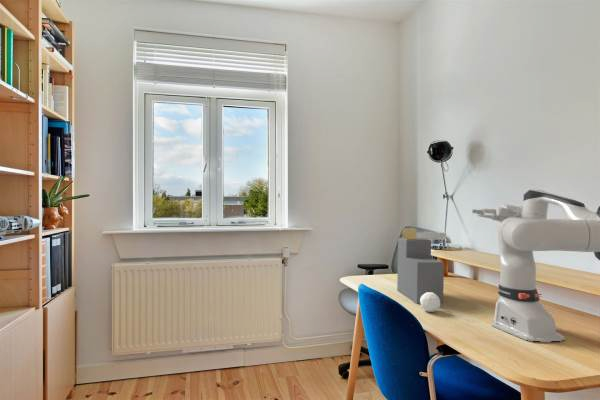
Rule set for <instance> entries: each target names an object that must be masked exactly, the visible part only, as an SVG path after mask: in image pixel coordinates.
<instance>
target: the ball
mask: <svg viewBox="0 0 600 400" xmlns="http://www.w3.org/2000/svg"><path fill="white" fill-rule="evenodd" d="M419 305H420V307H421V308H422V309H423V310H424V311H426V312H428V313H434V312H436V311H438V310H439V309H440V307H441V304H440V300H439V297H438V296H437V295H436V294H434V293H433V292H426V293H425V294H423V295H422V296H421V298H420V304H419Z"/></svg>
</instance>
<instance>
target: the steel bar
mask: <svg viewBox="0 0 600 400" xmlns="http://www.w3.org/2000/svg"><path fill="white" fill-rule="evenodd" d="M401 228H402V230H401V232H402V235H401V238H402V239H406V240H431V241H432V240H433V241H434V240H435V241H436V240H438V241H439V240H440V241H441V240H443V241H445V240H446V235H447V234H446V233H445V232H418V230H417V228H413V227H411V228H410V227H408V228H407V227H404V228H403V227H401Z"/></svg>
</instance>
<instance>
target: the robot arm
mask: <svg viewBox="0 0 600 400" xmlns="http://www.w3.org/2000/svg"><path fill="white" fill-rule="evenodd" d="M550 204H552V205H555V206H558V207H560V208H561V209H562V211H563V213H564V217H565V218H564V219H563V218H562V219H561V218H547V217H548V210H549V209H548V208H549V205H550ZM471 213H472V214H475V215H476V217H480V218H484V219H485V218H486V219H491V220H492V221H497V222H499V225H498V227H497V239H498V241H497V243H498V252H499V253H498V254H499V262H500V263H499V265H500V266H499V271H500V273H499V274H500V275H499V284H498V287H497V290H498V292H497V294H498V295H499V297H498V299H497V301H496V304H495V310H494V318H493V321H492V322H491V326H492V327H494V328H496V329H498V330H501V331H503V332H505V333H508V334H510V335H513V336H515V337H517V338H520V339H521V340H522V339H523V340H524V341H527V340H528V342H533V341H540V342H539V343H552V342H551V341H560V342H562V341H561V340H564V339H565V340H566V337H565V336H564V335H562V334H561V333H560V332H557V326H556V321H555V319H554V317H553V315H552V314H551V313H549V312H548V310H547V309H546V308H545V307H544V305H543V304H542V303H541V302H540V298H542V293H539V292H538V289H537V287H536V286H537V284H536V283H537V277H536V276H537V265H536V263H535V262H536V261H535V258H534V252H547V251H548V252H550V251H558V252H563V251H564V252H576V253H577V252H581V253H584V252H585V253H593V255H594V257H595V258H596V259H597V260H599V261H600V205H599V206H598V208H597V210H596V212H595V211H592V210H590V209H588V208H587V207H586V206H585V203H583V202H581V201H578V200H575V199H573V198H568V197H565V196H560V195H557V194H553V193H550V192H547V191H545V190H542V189H535V188H533V189H528V191H526V192H525V193H524V194H523V204H522V206H521V205H519V206H516V205H512V204H500V205H498V206H494V207H489V208H477V209H472V210H471ZM565 340H564V341H565ZM547 341H548V342H547Z"/></svg>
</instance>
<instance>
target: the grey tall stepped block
mask: <svg viewBox="0 0 600 400" xmlns="http://www.w3.org/2000/svg"><path fill="white" fill-rule="evenodd" d="M431 256H432V240H406V239H402V237H398V240H397V276H396V277H397V284H396V285H397V286H396V288H397V289H396V291H397V293H398V292H399V293H400V294H401V295H402V296H404V297H405V298H407V299H409V300H410V301H412V302H413V303H415V304H417V305H421V304H420V298H421V296H422V295H423V294H425V293H426V292H433V293H434V294H436V295H437V296H438V297H439V300H440V305H442V304H444V284H445V283H444V281H445V280H444V279H445V277H444V276H445V275H444V274H445V273H444V272H445V271H444V270H445V262H444V261H442V260H439V259H436V258H433V257H431Z"/></svg>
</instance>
